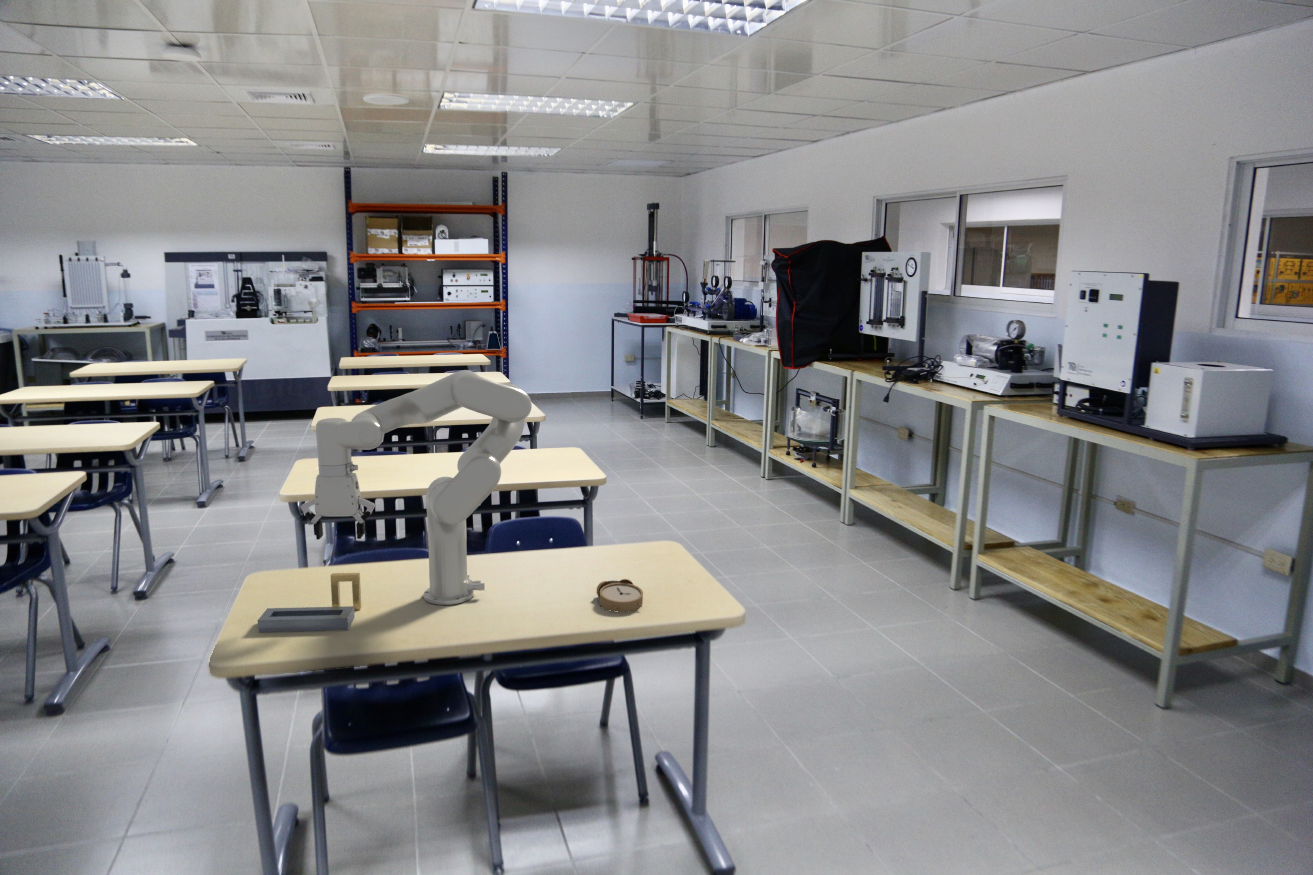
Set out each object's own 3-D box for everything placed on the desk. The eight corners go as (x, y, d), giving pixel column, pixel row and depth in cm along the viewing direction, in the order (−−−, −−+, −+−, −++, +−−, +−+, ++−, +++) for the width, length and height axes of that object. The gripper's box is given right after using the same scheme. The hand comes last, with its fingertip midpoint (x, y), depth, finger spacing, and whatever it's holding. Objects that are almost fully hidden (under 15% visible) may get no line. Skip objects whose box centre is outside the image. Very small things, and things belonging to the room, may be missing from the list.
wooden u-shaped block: (361, 607, 212) (359, 572, 210) (360, 610, 210) (358, 575, 208) (333, 608, 211) (332, 573, 209) (332, 610, 209) (330, 575, 208)
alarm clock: (607, 605, 211) (590, 574, 224) (605, 622, 212) (589, 590, 225) (649, 600, 215) (631, 570, 228) (648, 616, 216) (629, 586, 229)
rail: (354, 617, 206) (353, 606, 205) (347, 629, 199) (347, 618, 198) (268, 619, 203) (267, 608, 203) (258, 632, 196) (257, 620, 196)
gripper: (376, 465, 208) (379, 532, 212) (303, 466, 207) (308, 533, 210) (368, 473, 201) (372, 541, 204) (293, 473, 199) (298, 543, 203)
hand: (340, 537), depth 207 cm, fingers open, 9 cm apart
